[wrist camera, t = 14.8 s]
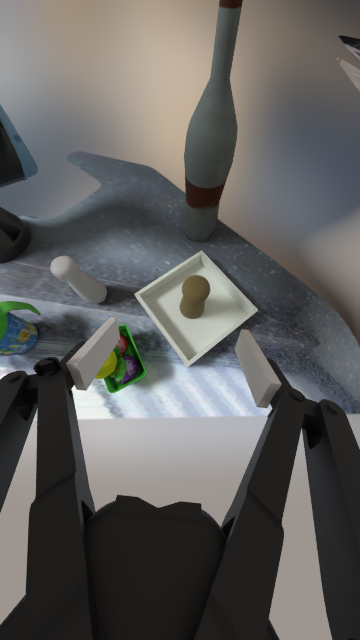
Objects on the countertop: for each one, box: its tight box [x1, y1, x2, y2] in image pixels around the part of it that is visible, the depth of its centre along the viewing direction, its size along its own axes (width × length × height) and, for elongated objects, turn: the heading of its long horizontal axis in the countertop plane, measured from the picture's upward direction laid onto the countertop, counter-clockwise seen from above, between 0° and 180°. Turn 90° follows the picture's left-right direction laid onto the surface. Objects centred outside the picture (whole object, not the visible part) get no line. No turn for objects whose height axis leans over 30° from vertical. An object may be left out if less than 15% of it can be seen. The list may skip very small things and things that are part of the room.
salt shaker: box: [50, 256, 107, 304], centre depth 32 cm, size 6×6×13 cm
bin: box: [134, 250, 258, 367], centre depth 36 cm, size 20×20×4 cm
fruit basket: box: [95, 324, 146, 393], centre depth 29 cm, size 11×9×11 cm
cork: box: [179, 275, 210, 319], centre depth 32 cm, size 6×6×11 cm
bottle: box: [183, 0, 243, 242], centre depth 30 cm, size 9×9×30 cm
